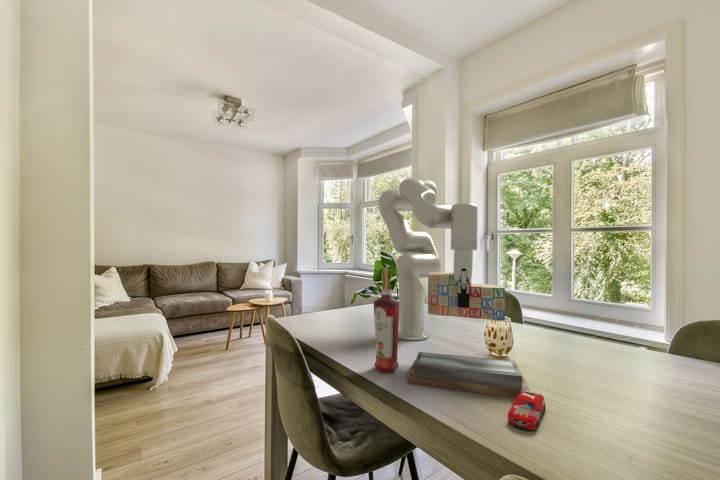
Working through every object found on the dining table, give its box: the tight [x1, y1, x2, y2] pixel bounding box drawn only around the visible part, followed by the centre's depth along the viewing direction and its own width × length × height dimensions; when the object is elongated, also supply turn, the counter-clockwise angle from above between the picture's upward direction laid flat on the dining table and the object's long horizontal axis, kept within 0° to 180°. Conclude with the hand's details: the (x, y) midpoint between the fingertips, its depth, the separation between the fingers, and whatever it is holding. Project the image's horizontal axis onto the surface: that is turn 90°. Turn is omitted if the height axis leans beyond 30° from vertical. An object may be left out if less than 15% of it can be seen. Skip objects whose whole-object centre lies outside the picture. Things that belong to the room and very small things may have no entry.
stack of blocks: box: [427, 272, 506, 322], centre depth 96 cm, size 21×6×12 cm, turn 68°
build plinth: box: [406, 351, 531, 399], centre depth 83 cm, size 13×28×5 cm, turn 73°
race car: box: [507, 390, 546, 431], centre depth 66 cm, size 13×5×4 cm, turn 140°
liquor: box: [373, 268, 400, 374], centre depth 91 cm, size 7×7×28 cm
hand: (463, 304), depth 96 cm, fingers closed on stack of blocks, 6 cm apart
